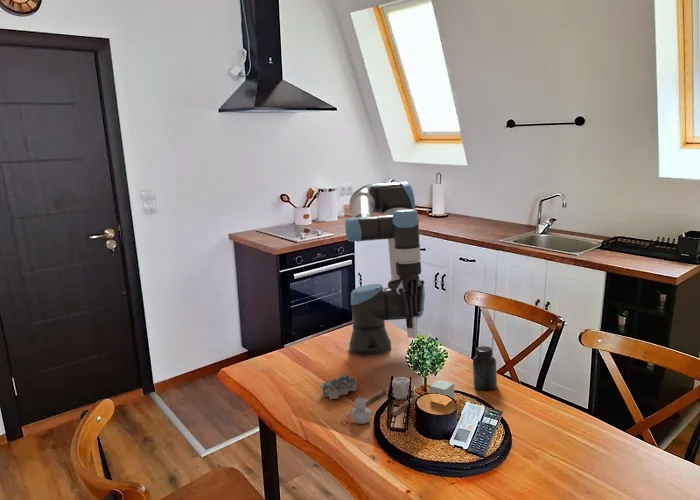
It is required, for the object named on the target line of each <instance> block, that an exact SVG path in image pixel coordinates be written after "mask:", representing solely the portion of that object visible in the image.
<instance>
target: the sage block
mask: <svg viewBox="0 0 700 500" xmlns="http://www.w3.org/2000/svg"><path fill="white" fill-rule="evenodd" d="M430 393H438V394H443V395H448V396H450V397H452V398H453V399H454V400H453V401H455V399H456V395H455V383H454V382H450V381H446V380H442V379H441V380H440V379H438V380H437V381H435V382H433V383H432V384H431V385H429V394H430Z"/></svg>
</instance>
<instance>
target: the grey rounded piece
mask: <svg viewBox="0 0 700 500" xmlns="http://www.w3.org/2000/svg"><path fill="white" fill-rule="evenodd" d="M358 395H359V394H358ZM365 400H366V399H364V397H361V396H360V395H359V396H358V397H356V398H355V400H354V403H353V404H354V408H353V409H352V410H351V411H350V416H351V417H350V418H351V420H352V421H353V422H354V423H356V424H359V425H363V424H366V423H368V422H369V421H370V420H371V418H372V411H371V409H370V408H368V407H367V406H366V402H365Z"/></svg>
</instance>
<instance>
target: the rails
mask: <svg viewBox="0 0 700 500" xmlns="http://www.w3.org/2000/svg"><path fill="white" fill-rule="evenodd" d="M384 395H386V389H382V390H380V391H377V392H376V393H375V394H373V395H371V396H370V397H368V398H367V399H364V400H365V402H366V407H367V406H369V405H371V404H372V403H374V402H375V401H377V400H378V399H379V398H381V397H383V396H384ZM409 399H410V406H412V405H413V404H414V403H416V398H415V397H411V398H410V397H409ZM409 399H408V400H409ZM408 400H407V399H406V401H404V402H403V403H402V404H400V405H399V406H397V407H396V408H393V409H392V410H391V416H393V417H394V416H395V417H396V416H397V415H398V414H401V412H403V411H405V410H406V409H407V408H408V407H407V406H408V404H409V402H408Z"/></svg>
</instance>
